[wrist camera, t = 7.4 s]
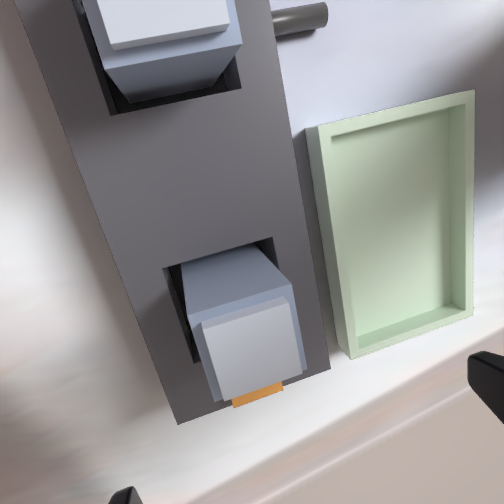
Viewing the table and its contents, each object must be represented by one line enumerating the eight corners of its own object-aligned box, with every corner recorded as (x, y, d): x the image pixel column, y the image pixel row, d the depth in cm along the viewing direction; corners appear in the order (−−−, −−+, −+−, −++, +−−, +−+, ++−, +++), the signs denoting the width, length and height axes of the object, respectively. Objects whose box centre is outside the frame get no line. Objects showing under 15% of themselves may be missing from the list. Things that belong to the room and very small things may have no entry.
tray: (450, 94, 19) (475, 88, 18) (453, 304, 24) (473, 315, 23) (304, 128, 18) (318, 126, 16) (338, 345, 23) (350, 360, 21)
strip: (232, -73, 15) (252, -141, 11) (309, 341, 22) (336, 376, 19) (16, -45, 13) (-36, -113, 10) (176, 387, 21) (178, 435, 17)
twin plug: (312, -30, 16) (428, -173, 9) (324, 63, 17) (433, 2, 10) (98, 4, 14) (33, -138, 7) (129, 103, 16) (100, 64, 9)
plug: (262, 299, 20) (313, 378, 13) (198, 319, 20) (216, 413, 13) (248, 238, 19) (297, 289, 12) (179, 257, 18) (188, 323, 11)
